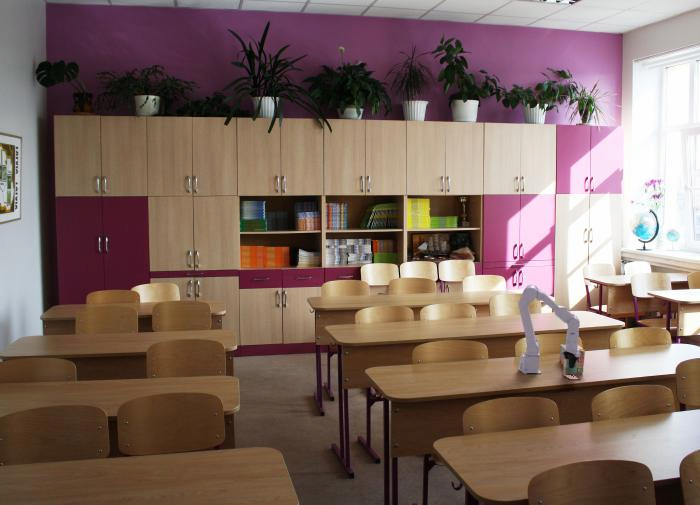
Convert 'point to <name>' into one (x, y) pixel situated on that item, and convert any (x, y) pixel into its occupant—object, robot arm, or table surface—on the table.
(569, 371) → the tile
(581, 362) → the beige printed box
